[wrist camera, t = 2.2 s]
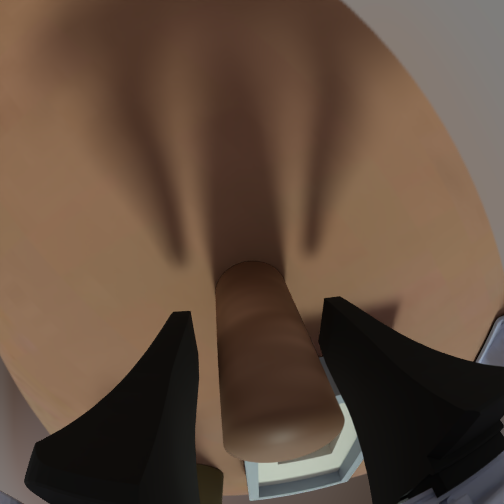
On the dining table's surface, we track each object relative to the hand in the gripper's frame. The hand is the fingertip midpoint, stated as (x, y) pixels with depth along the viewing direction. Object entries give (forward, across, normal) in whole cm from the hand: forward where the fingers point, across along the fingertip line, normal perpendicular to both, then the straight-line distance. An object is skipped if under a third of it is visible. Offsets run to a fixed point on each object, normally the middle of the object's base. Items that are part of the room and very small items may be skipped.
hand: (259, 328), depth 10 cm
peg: (+2, 0, 0) cm, 2 cm away
